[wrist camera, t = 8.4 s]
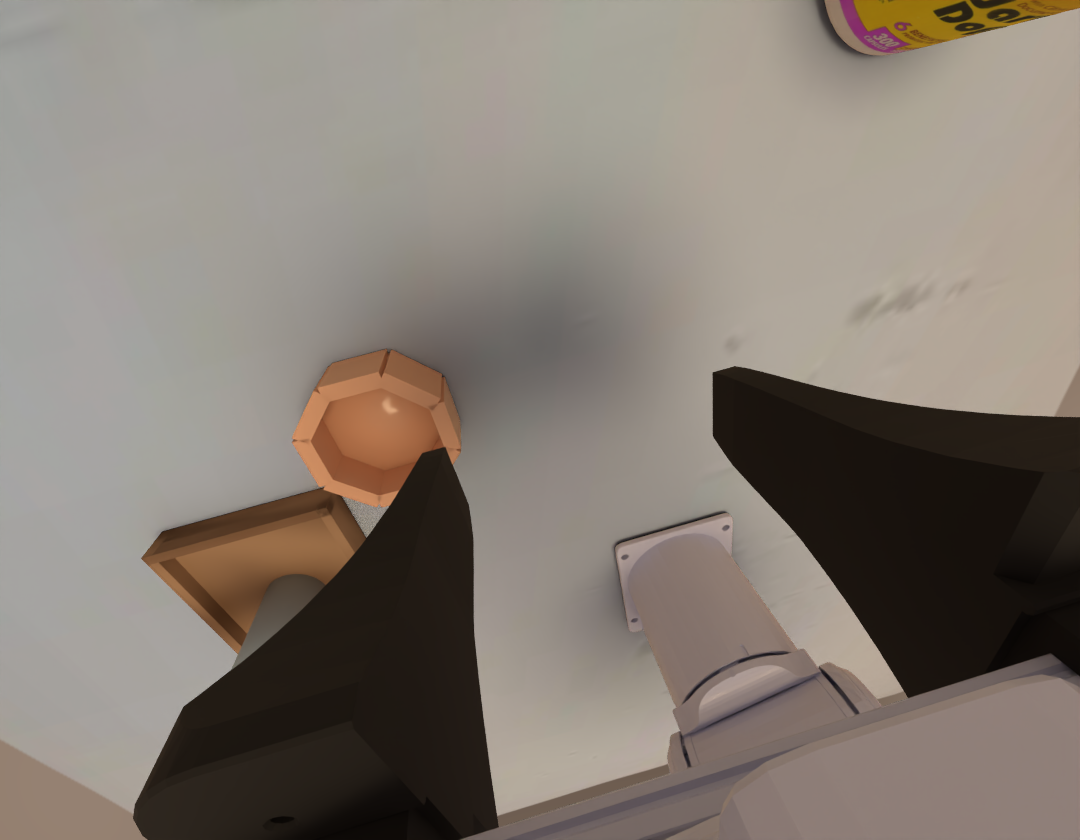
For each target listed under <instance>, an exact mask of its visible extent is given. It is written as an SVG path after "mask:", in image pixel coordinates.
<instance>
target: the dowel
mask: <svg viewBox="0 0 1080 840" xmlns="http://www.w3.org/2000/svg"><path fill="white" fill-rule="evenodd" d="M324 586H325V584H324V583H323V582H321V581H320V580H318V579H316V578H314V577H312V576H308V575H303V574H290V575H285V576H282V577H279V578H277V579H275V580H274V581H273V582H272V583H271V584H270V585H269V586H268V588H267V590H266V593H265V595H264V597H263V599H262V602H261V604H260V606H259V609H258V611H257V613H256V615H255V618H254V620H253V622H252V624H251V627H250V629H249V631H248V633H247V636H246V638H245V640H244V642H243V645H242V647H241V649H240V651H239V654H238V656H237V658H236V660H235V663H234V665H233V667H232V669H233V668H235V667H236V666H237V665H238V664H240V663H241V662H242V661H244V660H245V659H246V658H247V657H248V656H250V655H251V654H252V653H253V652H254V651H256V650H257V649H258V648H259V647H260V646H262V645H263V644H264V643H265V642H266V641H267V640H269V639H270V638H271V637H272V636H273V635H274V634H275V633H277V632H278V631H279V630H280V629H281V628H282V627H283V626H284V625H285V624H287V623H288V622H289V621H290V620H291V619H292V618H293V617H294V616H295V615H296V614H298V613H299V612H300V611H301V610H302V609H303V608H304V607H305V606H306V605H307V604H308V603H309V602H310V601H311V600H312V599H313V598H314V597H315V596H316V595H317V594H318V593H319V592H320V591H321V590H322V588H323V587H324ZM232 669H231V670H232Z"/></svg>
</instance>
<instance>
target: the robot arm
mask: <svg viewBox="0 0 1080 840" xmlns="http://www.w3.org/2000/svg"><path fill="white" fill-rule="evenodd" d="M713 437H714V438H715V440H716V442H717V443H718V445H719V446H720V448H721V449H722V451H723V452H724V454H725V455H726V456H727V458H728V459H729V461H730V462H731V463H732V465H733V466H734V467H735V468H736V469H737V470H738V471H739V473H740V474H741V475H742V476H743V477H744V478H745V479H746V480H747V481H748V482H749V483H750V484H751V486H752V487H753V488H754V489H755V490H756V491H757V492H758V493H759V494H760V495H761V496H762V497H763V498H764V499H765V501H766V502H767V503H768V504H769V505H770V506H771V507H772V508H773V509H774V510H775V511H776V512H777V513H778V514H779V515H780V517H781V518H782V519H783V520H784V521H785V522H786V523H787V524H788V525H789V526H790V527H791V529H792V530H793V531H794V532H795V533H796V534H797V536H798V537H799V538H800V539H801V540H802V542H803V543H804V544H805V546H806V547H807V548H808V550H809V551H810V552H811V554H812V555H813V556H814V557H815V559H816V560H817V561H818V563H819V564H820V565H821V567H822V568H823V569H824V571H825V572H826V574H827V575H828V576H829V578H830V579H831V581H832V582H833V583H834V585H835V586H836V588H837V589H838V590H839V592H840V593H841V595H842V596H843V597H844V599H845V600H846V602H847V603H848V605H849V606H850V607H851V609H852V610H853V612H854V613H855V615H856V616H857V618H858V619H859V621H860V622H861V624H862V625H863V627H864V629H865V630H866V632H867V633H868V635H869V636H870V638H871V639H872V641H873V642H874V644H875V645H876V647H877V648H878V650H879V651H880V653H881V654H882V656H883V658H884V659H885V661H886V663H887V664H888V666H889V667H890V669H891V671H892V672H893V674H894V676H895V677H896V679H897V680H898V682H899V684H900V685H901V687H902V689H903V690H904V692H905V693H906V695H907V697H908V699H905V700H901V701H898V702H895V703H892V704H889V705H885V706H882V705H881V704H880V703H879V702H878V700H877V699H876V698H875V697H874V696H873V694H872V693H871V692H870V691H869V690H868V689H867V688H866V686H865V685H864V684H863V683H862V682H861V681H860V680H859V679H858V678H857V677H856V676H855V675H854V674H852V673H851V672H850V671H848V670H846V669H843V668H840V667H837V666H836V665H834V664H832V663H830V662H827V663H825V664H823V665H820V666H819V668H818V667H817V666H816V664H815V663H814V661H813V660H812V659H811V657H810V656H809V655H808V653H807V652H806V651H805V649H800V650H798V649H797V648H796V646H795V645H794V644H793V642H792V641H791V639H790V638H789V637H788V635H787V634H786V632H785V631H784V630H783V628H782V627H781V626H780V624H779V623H778V621H777V620H776V619H775V617H774V616H773V614H772V613H771V612H770V610H769V609H768V607H767V606H766V605H765V603H764V602H763V600H762V599H761V598H760V596H759V595H758V593H757V592H756V591H755V589H754V588H753V586H752V585H751V584H750V582H749V581H748V579H747V578H746V577H745V575H744V574H743V572H742V571H741V570H740V568H739V567H738V565H737V564H736V563H735V561H734V560H733V559H732V529H733V519H732V517H731V516H730V515H729V514H728V513H723V514H720V515H716V516H713V517H709V518H706V519H702V520H699V521H695V522H692V523H688V524H685V525H681V526H678V527H675V528H671V529H668V530H664V531H661V532H657V533H654V534H650V535H647V536H643V537H640V538H636V539H633V540H629V541H626V542H622V543H620V544H618V545H617V546H616V548H615V553H616V559H617V565H618V571H619V577H620V583H621V588H622V594H623V600H624V606H625V612H626V618H627V624H628V628H629V630H630V631H631V632H637V631H641V630H644V632H645V635H646V637H647V639H648V642H649V644H650V647H651V649H652V651H653V654H654V656H655V659H656V661H657V664H658V666H659V668H660V671H661V673H662V676H663V678H664V680H665V683H666V685H667V688H668V690H669V692H670V695H671V697H672V700H673V702H674V704H675V706H676V708H675V709H673V714H674V717H675V719H676V721H677V724H678V726H679V729H680V731H679V732H677V733H674V734H672V735H671V737H670V746H669V750H668V755H667V759H668V765H669V770H670V774H666V775H663V776H660V777H657V778H654V779H651V780H647V781H645V782H641V783H638V784H635V785H632V786H629V787H625V788H622V789H619V790H616V791H613V792H609V793H606V794H603V795H600V796H597V797H594V798H591V799H587V800H584V801H581V802H578V803H575V804H571V805H568V806H565V807H562V808H559V809H556V810H553V811H549V812H546V813H543V814H540V815H537V816H533V817H530V818H527V819H524V820H521V821H518V822H514V823H511V824H508V825H505V826H502V827H499V826H498V819H497V813H496V806H495V799H494V792H493V786H492V779H491V772H490V765H489V757H488V749H487V742H486V734H485V727H484V719H483V711H482V702H481V694H480V685H479V677H478V667H477V657H476V648H475V638H474V558H473V532H472V524H471V517H470V510H469V504H468V502H467V499H466V497H465V495H464V492H463V490H462V487H461V485H460V482H459V480H458V477H457V475H456V472H455V470H454V467H453V465H452V462H451V460H450V457H449V455H448V452H447V450H446V447H442V448H439V449H435V450H431V451H428V452H424V453H422V454H421V456H420V457H419V459H418V460H417V462H416V464H415V465H414V467H413V469H412V470H411V472H410V474H409V475H408V477H407V479H406V480H405V482H404V484H403V485H402V487H401V489H400V490H399V492H398V493H397V495H396V497H395V498H394V500H393V501H392V503H391V505H390V506H389V508H388V509H387V510H386V512H385V513H384V515H383V516H382V517H381V519H380V520H379V522H378V523H377V525H376V526H375V527H374V529H373V530H372V532H371V533H370V534H369V536H368V537H367V538H366V540H365V541H364V542H363V544H362V545H361V546H360V547H359V549H358V550H357V551H356V552H355V553H354V555H353V556H352V557H351V558H350V559H349V560H348V562H347V563H346V564H345V565H344V566H343V567H342V569H341V570H340V571H339V572H338V573H337V574H336V575H335V576H334V577H333V578H332V579H331V580H330V581H329V582H328V583H327V584H326V585H325V586H324V587H323V588H322V590H321V591H320V592H319V593H318V594H317V595H316V596H315V597H314V598H313V599H312V600H311V601H310V602H309V603H308V604H307V605H306V606H305V607H304V608H303V609H302V610H301V611H300V612H299V613H298V614H296V615H295V616H294V617H293V618H292V619H291V620H290V621H289V622H288V623H287V624H285V625H284V626H283V627H282V628H281V629H280V630H279V631H278V632H277V633H275V634H274V635H273V636H272V637H271V638H270V639H269V640H267V641H266V642H265V643H264V644H263V645H262V646H260V647H259V648H258V649H257V650H256V651H254V652H253V653H252V654H251V655H250V656H248V657H247V658H246V659H245V660H244V661H242V662H241V663H240V664H238V665H237V666H236V667H235V668H233V669H232V670H231V671H229V672H228V673H227V674H226V675H224V676H223V677H222V678H220V679H219V680H218V681H217V682H215V683H214V684H213V685H211V686H210V687H209V688H208V689H206V690H205V691H204V692H202V693H201V694H200V695H199V696H197V697H196V698H195V699H193V700H192V701H191V702H189V703H188V704H186V705H185V706H184V707H183V709H182V711H181V713H180V715H179V717H178V719H177V721H176V723H175V725H174V727H173V729H172V731H171V733H170V735H169V737H168V739H167V741H166V743H165V745H164V747H163V749H162V751H161V753H160V755H159V757H158V759H157V761H156V763H155V765H154V767H153V769H152V771H151V773H150V775H149V777H148V779H147V781H146V784H145V786H144V788H143V790H142V792H141V794H140V796H139V798H138V800H137V802H136V804H135V808H134V816H133V819H134V821H135V823H136V825H137V827H138V828H139V830H140V832H141V834H142V835H143V836H144V837H145V838H146V839H148V840H1080V417H1048V416H1021V415H1004V414H988V413H977V412H966V411H956V410H945V409H936V408H928V407H920V406H914V405H907V404H901V403H894V402H888V401H882V400H877V399H871V398H866V397H861V396H857V395H852V394H847V393H843V392H838V391H834V390H830V389H826V388H821V387H817V386H813V385H810V384H806V383H802V382H798V381H794V380H791V379H787V378H783V377H779V376H776V375H772V374H768V373H764V372H760V371H756V370H752V369H747V368H742V367H736V366H734V367H731V368H727V369H723V370H720V371H716V372H713ZM624 554H625V555H624Z"/></svg>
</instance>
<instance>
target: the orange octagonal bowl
mask: <svg viewBox="0 0 1080 840" xmlns="http://www.w3.org/2000/svg"><path fill="white" fill-rule="evenodd" d="M292 439H294V440H293V442H292V443H293V445H294V446H295V448H296V450H297V451H298V453H299V455H300V456H301V458H302V459H303V461H304V463H305V464H306V466H307V467H308V469H309V471H310V472H311V474H312V476H313V477H314V479H315V480H316V482H317V484H318V485H319V487H321V486H325V487H324V489H323V490H326V491H329V492H332V493H335V494H338V495H341V496H344V497H347V498H350V499H353V500H356V501H359V502H362V503H365V504H368V505H371V506H374V507H377V506H378V504H380V506H381V507H385V506H389V505H391V503H392V501H393V500H394V498H395V497H396V495H397V493H398V492H399V490H400V489H401V487H402V485H403V484H404V482H405V480H406V479H407V477H408V475H409V474H410V472H411V470H412V469H413V467H414V465H415V464H416V462H417V460H418V459H419V457H420V456H421V454H422V453H424V452H428V451H431V450H435V449H439V448H442V447H446V450H447V452H448V455H449V457H450V460H451V462H452V465H453V463H454V462H455V460H456V459H457V457H458V456H459V454H460V453H461V429H460V418H459V416H458V413H457V410H456V407H455V404H454V402H453V399H452V396H451V393H450V390H449V388H448V385H447V382H446V379H445V377H443V378H442V374H441V373H439V372H437V371H435V370H433V369H431V368H429V367H427V366H425V365H422V364H420V363H418V362H416V361H414V360H412V359H410V358H408V357H406V356H404V355H402V354H400V353H398V352H396V351H394V350H391V351H390V353H389V354H388V351H387V349H384V350H381V351H377V352H373V353H369V354H365V355H361V356H358V357H354V358H350V359H346V360H342V361H338V362H335V363H332V364H331V366H328V368H327V369H326V371H325V373H324V374H323V376H322V378H321V379H320V381H319V383H318V384H317V386H316V388H315V389H314V391H313V393H312V395H311V397H310V400H309V402H308V404H307V406H306V408H305V410H304V413H303V415H302V417H301V419H300V421H299V424H298V426H297V428H296V430H295V432H294V434H293V437H292Z"/></svg>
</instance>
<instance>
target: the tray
mask: <svg viewBox="0 0 1080 840" xmlns="http://www.w3.org/2000/svg"><path fill="white" fill-rule="evenodd" d="M323 489H324V488H321V489H317V490H313V491H310V492H306V493H302V494H299V495H295V496H291V497H288V498H284V499H280V500H277V501H273V502H269V503H266V504H262V505H258V506H255V507H251V508H247V509H244V510H240V511H236V512H233V513H229V514H226V515H222V516H218V517H215V518H211V519H207V520H204V521H200V522H196V523H193V524H189V525H185V526H182V527H178V528H174V529H171V530H167V531H163V532H162V533H161V534H160V535H159V536H158V538H157V539H156V540H155V542H154V543H153V544H152V545H151V547H150V548H149V549H148V550H147V552H146V553H145V554H144V555H143V557H142V558H141V559H142V560H143V561H144V562H145V563H146V564H147V565H148V566H149V567H150V568H151V569H152V570H153V571H154V572H155V573H156V574H157V575H158V576H159V577H160V578H161V579H162V580H163V581H164V582H165V583H166V584H167V585H168V586H169V587H171V588H172V589H173V590H174V591H175V592H176V593H177V594H178V595H179V596H180V597H181V598H182V599H183V600H184V601H185V602H186V603H187V604H188V605H189V606H190V607H191V608H192V609H193V610H194V611H195V612H196V613H197V614H198V615H199V616H200V617H201V618H202V619H203V620H204V621H205V622H206V623H207V624H208V625H209V626H210V627H211V628H212V629H213V630H214V631H215V632H216V633H217V634H218V635H219V636H220V637H221V638H222V639H223V640H224V641H225V642H226V643H227V644H228V645H229V646H230V647H231V648H232V649H233V650H234V651H235V652H236V653H237V654H239V651H240V649H241V647H242V645H243V642H244V640H245V638H246V636H247V633H248V631H249V629H250V627H251V624H252V622H253V620H254V618H255V615H256V613H257V611H258V609H259V606H260V604H261V602H262V599H263V597H264V595H265V593H266V590H267V588H268V586H269V585H270V584H271V583H272V582H273V581H274V580H275V579H277V578H279V577H282V576H285V575H290V574H303V575H308V576H312V577H314V578H316V579H318V580H320V581H321V582H323V583H324V584H325V585H326V584H327V583H328V582H329V581H330V580H331V579H332V578H333V577H334V576H335V575H336V574H337V573H338V572H339V571H340V570H341V569H342V567H343V566H344V565H345V564H346V563H347V562H348V560H349V559H350V558H351V557H352V556H353V555H354V553H355V552H356V551H357V550H358V549H359V547H360V546H361V545H362V544H363V542H364V541H365V540H366V537H365V535H364V534H363V532H362V530H361V529H360V527H359V525H358V524H357V522H356V520H355V519H354V517H353V515H352V514H351V512H350V510H349V508H348V507H347V505H346V503H345V502H344V500H343V498H342V497H341V495H338V494H335V493H332V492H329V491H326V490H323Z"/></svg>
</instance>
